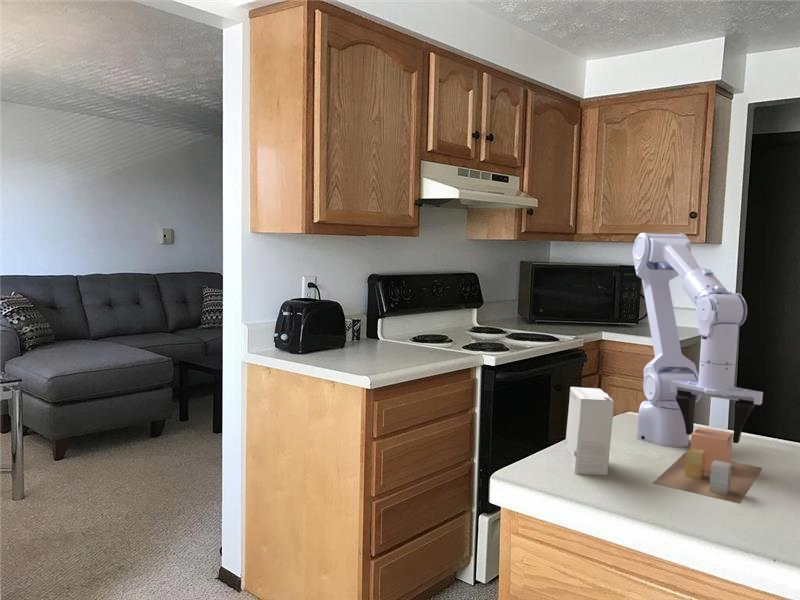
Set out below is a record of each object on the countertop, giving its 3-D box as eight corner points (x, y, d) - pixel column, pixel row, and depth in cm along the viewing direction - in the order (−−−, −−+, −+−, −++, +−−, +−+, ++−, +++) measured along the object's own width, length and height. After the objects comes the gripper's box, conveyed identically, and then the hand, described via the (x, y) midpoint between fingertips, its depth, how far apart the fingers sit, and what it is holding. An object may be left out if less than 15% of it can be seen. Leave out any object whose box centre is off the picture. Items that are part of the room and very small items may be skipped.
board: (651, 491, 110) (652, 482, 110) (685, 460, 127) (685, 452, 127) (738, 512, 102) (739, 503, 102) (761, 475, 119) (762, 467, 119)
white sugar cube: (709, 491, 107) (711, 464, 106) (712, 486, 109) (714, 460, 109) (726, 495, 105) (728, 467, 105) (730, 490, 107) (732, 463, 107)
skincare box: (563, 466, 122) (567, 386, 120) (596, 467, 122) (600, 386, 120) (574, 483, 113) (579, 397, 112) (610, 484, 113) (615, 398, 112)
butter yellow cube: (684, 475, 114) (686, 450, 113) (688, 471, 116) (689, 446, 115) (700, 479, 112) (702, 453, 112) (704, 475, 114) (706, 449, 114)
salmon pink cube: (689, 466, 119) (691, 433, 118) (697, 458, 123) (699, 427, 122) (723, 474, 115) (726, 440, 115) (730, 465, 120) (732, 433, 119)
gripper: (668, 359, 118) (663, 434, 120) (759, 370, 110) (753, 451, 111) (678, 354, 124) (674, 426, 125) (766, 364, 115) (761, 441, 117)
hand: (712, 437), depth 119 cm, fingers open, 7 cm apart
